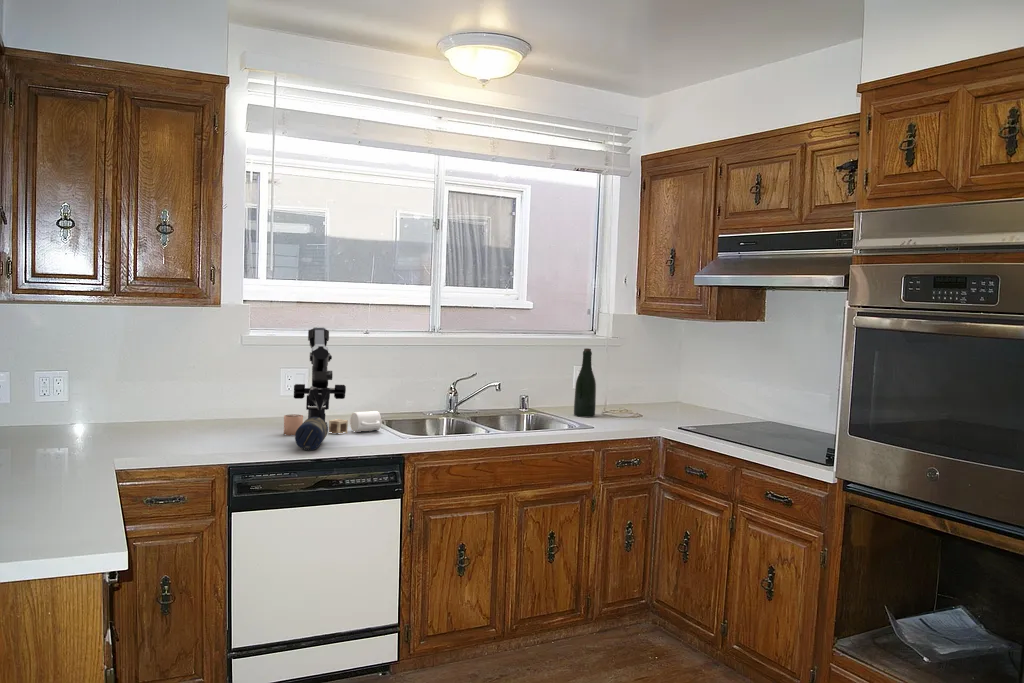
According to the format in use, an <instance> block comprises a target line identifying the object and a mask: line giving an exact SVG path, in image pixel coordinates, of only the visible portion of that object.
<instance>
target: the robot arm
mask: <svg viewBox="0 0 1024 683" xmlns="http://www.w3.org/2000/svg"><path fill="white" fill-rule="evenodd" d="M307 332H308V333H307V341H309V347H310V349H311V352H309V362H310V364H311V365H312V366H311V386H310V387H306V384H305V383H295V384H294V385H293V398H294V399H298V400H300V399H301V400H302V399H304V398H305V395H306V403H305V404H306V405H305V406H306V408H305V409H306V411H307V412H308V413H307V414H308V416H307V419H308V418H310V417H320V418H322V419H323V420H324V421H325V422H326V423H327V424H328V422H327V421H326V410H329V408H330V396H331V394H333V397H334V399H336V400H344V399H345V398H346V392H347V390H346V388H347V387H346V386H347V385H345V384H335V385H334V387H328V386H329V381H332V380H333V370H328V365H329V363H330V362H331V360H332V358H333V356H332V355H331V353H330V351H329V348H328V347H327V345H328V342H329V340H330V331H329V330H328V329H327V328H325V327H323V326H322V327H319V326H315V327H313V328H311V329H308V331H307Z"/></svg>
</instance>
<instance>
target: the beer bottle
mask: <svg viewBox="0 0 1024 683" xmlns="http://www.w3.org/2000/svg"><path fill="white" fill-rule="evenodd" d="M592 356H593V351H592V349H591V348H583V351H582V363H581V368H580V371H579V373H578V376H577V378H576V380H575V388H574V402H573V415H574V416H575V415H577V416H576V417H579V416H594V417H595V415H596V399H597V381H596V377H595V375H594V370H593V366H592V359H593V358H592Z"/></svg>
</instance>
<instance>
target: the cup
mask: <svg viewBox="0 0 1024 683" xmlns="http://www.w3.org/2000/svg"><path fill="white" fill-rule="evenodd" d="M303 422H304V415H303V414H293V413H291V414H284V415H283V435H284V434H286V435H285V436H291V435H294V436H295V433H296V431H297V429H298V428H299V427H300V426H301V424H302V423H303Z"/></svg>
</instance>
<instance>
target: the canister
mask: <svg viewBox="0 0 1024 683" xmlns="http://www.w3.org/2000/svg"><path fill="white" fill-rule="evenodd" d="M326 422H327V421H326V420H325V421H324V420H323V419H322V418H320V417H310V418H308V417H307V419H305V420H303V423H302V424H301V426H300V427H299V428H298V429H297V431H296V433H295V435H294V440H295V443H296V445H297V446H298V447H299V448H300V449H302V450H303V451H313V450H316V449H317V448H318V447H320V446H321V444H322V443H323V442H324V441H325V439H326V437H327V435H328V434H329V425H328V422H327V423H326Z"/></svg>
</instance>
